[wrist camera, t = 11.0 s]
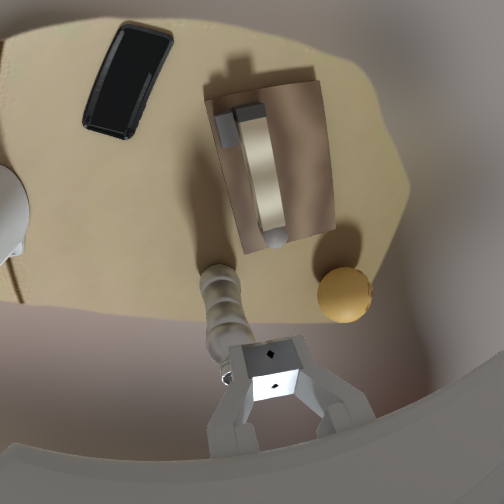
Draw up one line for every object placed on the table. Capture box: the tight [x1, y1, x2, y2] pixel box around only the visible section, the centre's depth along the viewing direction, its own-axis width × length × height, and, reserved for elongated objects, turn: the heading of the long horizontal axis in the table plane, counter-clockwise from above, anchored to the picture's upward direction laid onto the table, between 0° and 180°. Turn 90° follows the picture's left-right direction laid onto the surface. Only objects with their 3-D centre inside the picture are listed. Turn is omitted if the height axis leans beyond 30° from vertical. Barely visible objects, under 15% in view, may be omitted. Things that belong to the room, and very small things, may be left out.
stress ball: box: [317, 267, 373, 323], centre depth 48 cm, size 10×10×10 cm
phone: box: [82, 24, 174, 140], centre depth 28 cm, size 8×1×15 cm
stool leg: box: [231, 102, 288, 249], centre depth 35 cm, size 19×3×4 cm, turn 12°
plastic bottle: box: [199, 264, 255, 386], centre depth 39 cm, size 6×7×20 cm
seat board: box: [204, 81, 336, 254], centre depth 37 cm, size 15×23×5 cm, turn 12°
